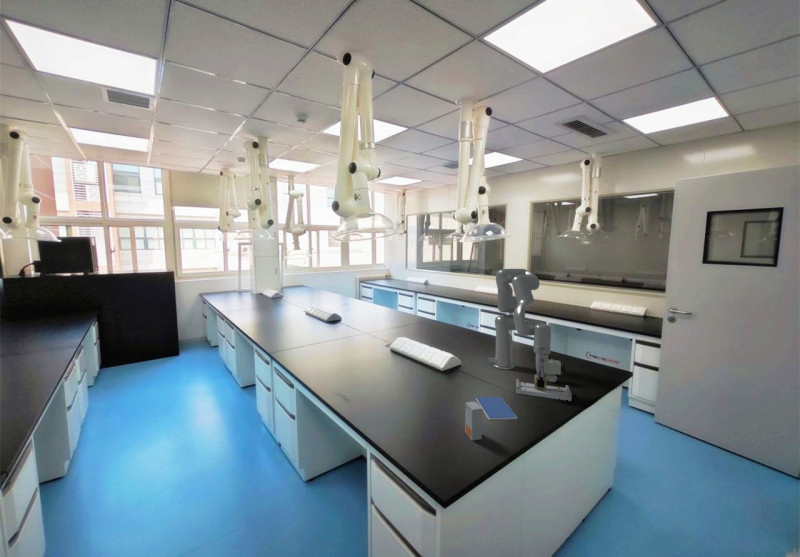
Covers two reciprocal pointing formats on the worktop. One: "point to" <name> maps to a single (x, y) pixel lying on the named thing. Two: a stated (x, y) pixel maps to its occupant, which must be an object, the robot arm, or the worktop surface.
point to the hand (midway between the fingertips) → (540, 385)
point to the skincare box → (473, 420)
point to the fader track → (543, 391)
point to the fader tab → (536, 383)
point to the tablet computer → (496, 408)
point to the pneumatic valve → (554, 370)
